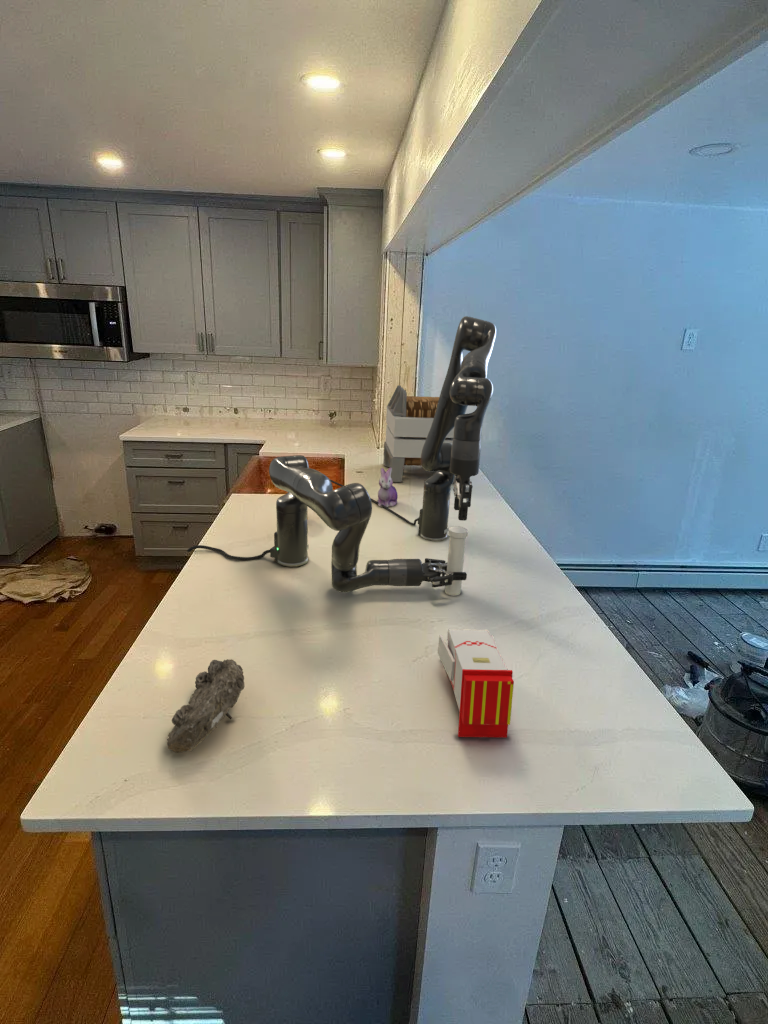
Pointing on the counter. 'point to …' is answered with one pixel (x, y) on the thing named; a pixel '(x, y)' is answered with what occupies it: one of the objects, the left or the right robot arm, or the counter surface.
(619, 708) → the counter surface
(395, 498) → the figurine
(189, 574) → the counter surface
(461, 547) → the white cylindrical bottle
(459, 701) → the toy
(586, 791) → the counter surface
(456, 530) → the lid
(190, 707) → the fossil
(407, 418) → the grey wooden box
